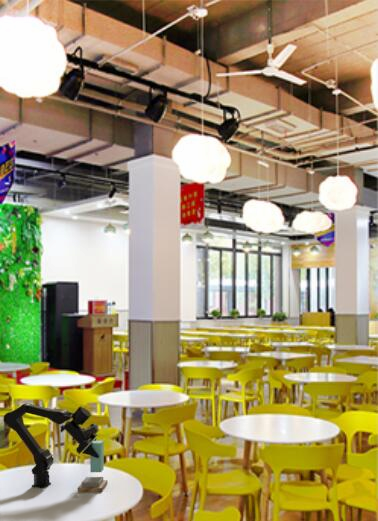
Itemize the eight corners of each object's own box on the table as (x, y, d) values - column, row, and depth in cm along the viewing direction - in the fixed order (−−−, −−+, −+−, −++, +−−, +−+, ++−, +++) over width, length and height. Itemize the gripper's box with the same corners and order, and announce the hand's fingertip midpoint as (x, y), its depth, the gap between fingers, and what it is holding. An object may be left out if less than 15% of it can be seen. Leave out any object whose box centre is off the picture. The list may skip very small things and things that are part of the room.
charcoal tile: (81, 487, 259) (81, 482, 260) (86, 481, 267) (86, 477, 268) (99, 486, 259) (99, 482, 259) (103, 481, 267) (103, 476, 267)
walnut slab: (77, 493, 258) (77, 488, 258) (84, 485, 269) (84, 480, 269) (101, 493, 257) (101, 487, 257) (107, 485, 268) (107, 480, 268)
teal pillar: (90, 472, 265) (90, 443, 266) (93, 469, 270) (92, 440, 271) (101, 472, 265) (101, 443, 266) (103, 469, 270) (103, 440, 271)
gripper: (83, 423, 260) (107, 448, 259) (92, 415, 279) (115, 438, 277) (66, 441, 260) (90, 466, 258) (76, 432, 279) (99, 455, 277)
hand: (99, 455), depth 268 cm, fingers closed on teal pillar, 5 cm apart
